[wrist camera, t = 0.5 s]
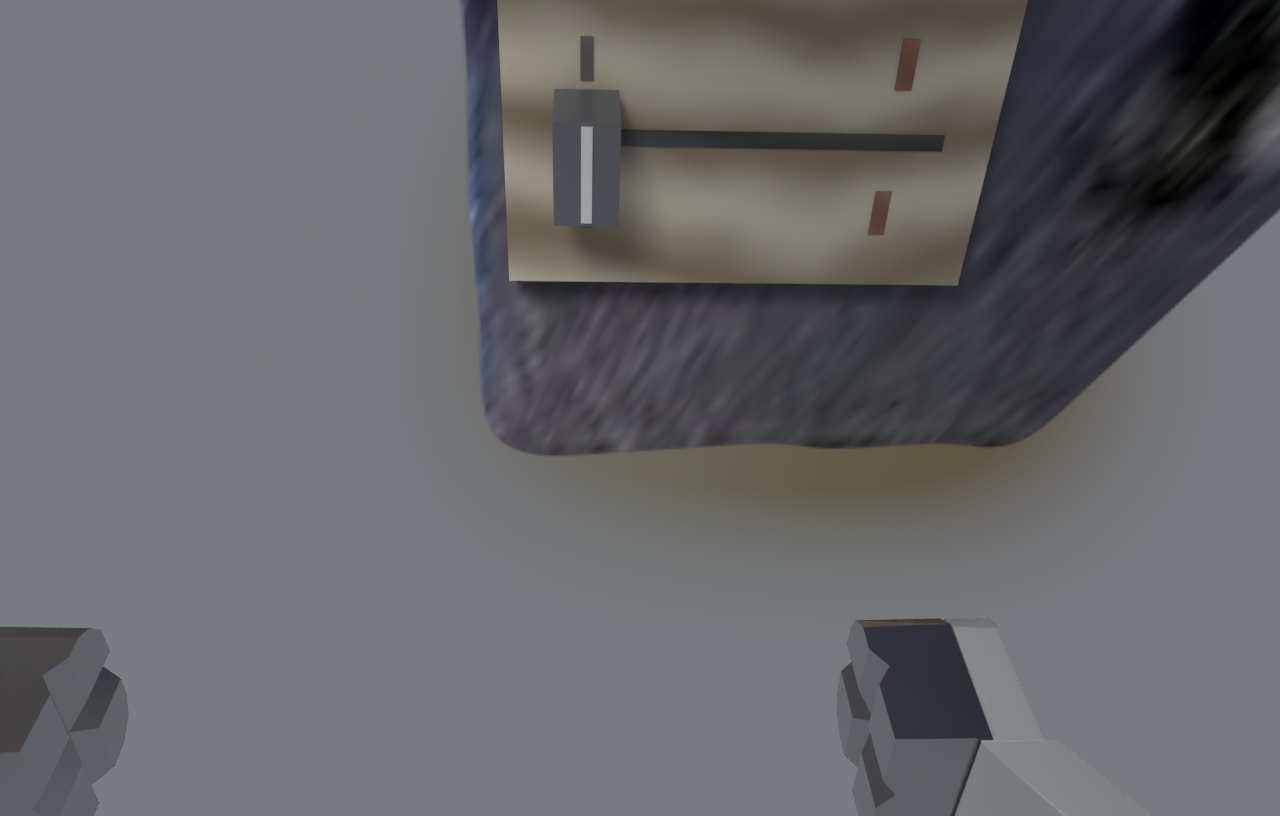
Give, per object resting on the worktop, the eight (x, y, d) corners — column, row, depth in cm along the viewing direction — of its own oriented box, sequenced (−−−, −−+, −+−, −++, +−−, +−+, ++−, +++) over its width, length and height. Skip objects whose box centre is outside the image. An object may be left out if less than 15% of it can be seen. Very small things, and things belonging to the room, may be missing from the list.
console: (498, -53, 47) (495, -40, 46) (1019, -38, 49) (1035, -26, 47) (511, 262, 57) (509, 281, 55) (947, 267, 58) (958, 286, 57)
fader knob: (554, 88, 49) (552, 122, 46) (618, 90, 49) (621, 123, 46) (555, 188, 52) (553, 227, 49) (616, 189, 52) (618, 227, 49)
